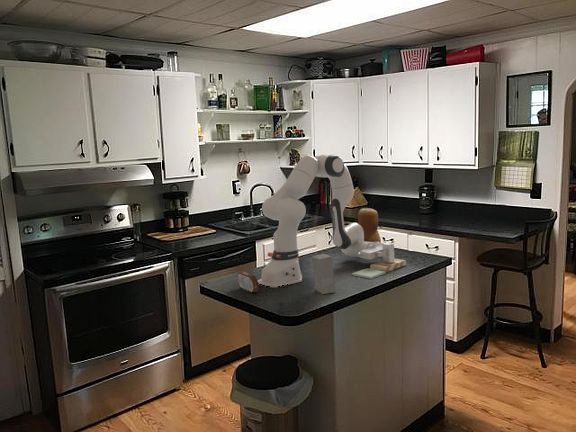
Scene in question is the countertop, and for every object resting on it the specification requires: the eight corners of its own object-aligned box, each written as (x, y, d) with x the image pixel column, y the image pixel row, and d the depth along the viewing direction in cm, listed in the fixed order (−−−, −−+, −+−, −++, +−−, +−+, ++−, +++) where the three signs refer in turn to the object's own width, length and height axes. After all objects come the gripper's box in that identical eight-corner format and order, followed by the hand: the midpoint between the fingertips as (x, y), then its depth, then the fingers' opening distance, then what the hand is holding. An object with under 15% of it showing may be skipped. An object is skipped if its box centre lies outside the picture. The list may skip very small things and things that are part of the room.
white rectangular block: (389, 268, 243) (389, 244, 241) (383, 267, 246) (382, 244, 244) (394, 267, 246) (393, 243, 244) (387, 265, 249) (387, 242, 247)
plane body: (385, 272, 237) (385, 267, 236) (370, 269, 243) (370, 264, 243) (405, 265, 248) (405, 260, 248) (390, 262, 255) (390, 257, 254)
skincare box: (335, 292, 210) (334, 256, 208) (320, 295, 208) (318, 258, 206) (328, 287, 218) (326, 252, 216) (313, 289, 217) (311, 254, 214)
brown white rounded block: (259, 294, 215) (258, 275, 214) (253, 295, 214) (252, 276, 212) (243, 286, 228) (241, 269, 227) (237, 288, 226) (235, 270, 225)
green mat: (370, 278, 228) (370, 276, 228) (352, 275, 236) (352, 273, 236) (385, 273, 235) (385, 271, 235) (366, 270, 243) (366, 268, 243)
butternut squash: (385, 250, 282) (384, 207, 278) (373, 255, 272) (371, 210, 268) (364, 248, 291) (363, 206, 287) (352, 253, 281) (350, 209, 277)
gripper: (354, 248, 247) (376, 251, 237) (379, 240, 261) (401, 243, 251) (355, 260, 248) (377, 264, 238) (379, 252, 262) (401, 255, 251)
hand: (389, 253), depth 244 cm, fingers closed on white rectangular block, 4 cm apart
